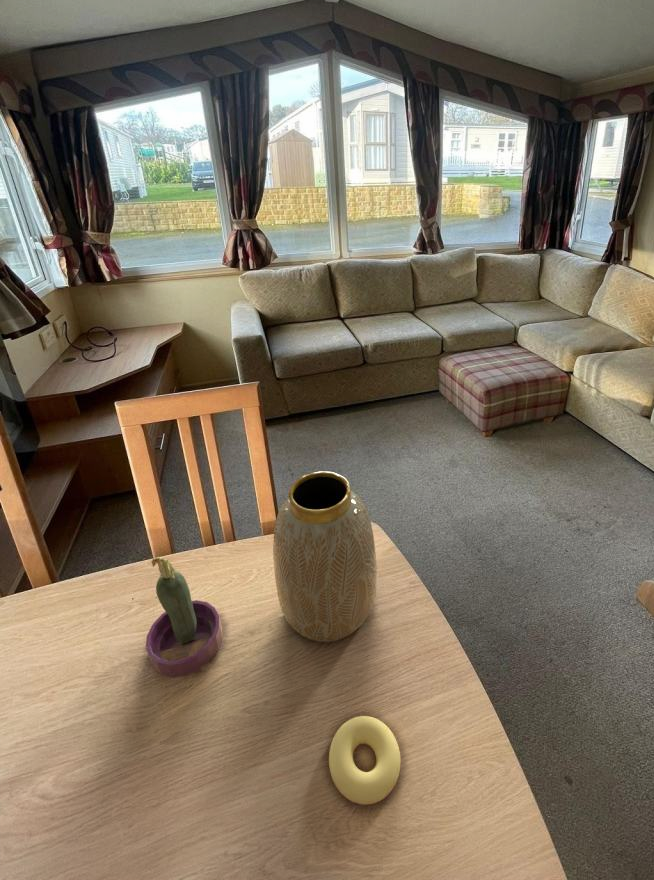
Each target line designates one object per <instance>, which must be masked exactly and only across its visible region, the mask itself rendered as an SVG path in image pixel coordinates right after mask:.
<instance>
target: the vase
mask: <svg viewBox="0 0 654 880" xmlns="http://www.w3.org/2000/svg"><path fill="white" fill-rule="evenodd" d="M272 544H273V545H272V548H273V549H272V553H273V555H272V556H273V570H274V579H275V580H274V581H275V586H276V591H277V598H278V603H279V607H280V609H281V613H282V615H283V617H284V618H285V620H286V622H287V623H288V625H289V626H290V627H291V628H292V629H293V630H294V631H295V632H296V633H298V634H299V635H300V636H302V637H304V638H306V639H309V640H311V641H314V642H321V643H323V642H324V643H326V642H327V643H329V642H335V641H338V640H342V639H344V638H346V637H349V636H350V635H352V634H353V633H354V632H356V631H357V630H358V629H359V628H360V627H361V626H362V625H363V623H364V622H365V621H366V620H367V618H368V617H369V615H370V613H371V612H372V609H373V607H374V603H375V600H376V596H377V577H378V576H377V574H378V573H377V570H378V569H377V567H378V566H377V554H376V546H375V545H376V544H375V537H374V531H373V526H372V522H371V518H370V515H369V512H368V510H367V508H366V505H365V503H364V502H363V501H362V499H361V498H360V497H359V496H358V494H357V493H355V492H354V491H353V490H352V489H351V485H350V483H349V481H348V480H347V478H345V477H344V476H342V475H340V474H338V473H336V472H332V471H316V472H311V473H308V474H305V475H303V476H301V477H299V478H298V479H297V480H295V481H294V482H293V484H292V485H291V486H290V488H289V491H288V498H287V499H286V500H285V501H284V503H283V504H282V506H281V508H280V509H279V511H278V513H277V516H276V520H275V523H274V530H273V543H272Z"/></svg>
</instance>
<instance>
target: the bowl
mask: <svg viewBox="0 0 654 880" xmlns="http://www.w3.org/2000/svg"><path fill="white" fill-rule="evenodd" d="M192 603H193V609H194V613H195V616H196V621H197V625H196V632H195V636H194V638H193V639H192V640H190V641H189V642H187V643H185V644H183V645H181V643H180V642H178V641H177V640H176V638H175V636H174V631H173V628H172V622H171V620H170V617H169V615H168V614H167V612H166V611H164V612H163V613H161V614H160V615H159V616H158V618H156V620H155V621H154V622H153V623H152V624H151V627H150V628H149V631H148V632H147V635H146V641H145V649H146V653H147V656H148V659H149V661H150V663H151V666H152V669H153V670H154V671H155V672H157V673H158V674H159V675H161V676H163V677H168V678H180V677H187V676H188V675H190V674H193V673H195V672H197V671H199V670H200V669H202V668H203V667H205V666H206V665H207V664H208V663H209V662H210V661H212V659H213V658H214V656H215V655H216V654H217V652H218V651H219V649H220V646H221V643H222V640H223V634H224V630H223V626H222V625H223V624H222V622H221V618H220V614H219V613H218V610H217V609H216V607H215V606H213V605H212V604H210V603H209V602H207V601H202V600H197V599H195V600H192ZM205 639H209V640H208V641H207V642H206V643H205V645H204V646H202V647H201V649H199V650H198V651H197V652H195V653H194V654H191V655H189V656H187V657H185V658H182V659H176V660H167V659H166V658H164V657H163V656H162V653H163V652H165V651H169V650H172V649H176V648H179V647H182V646H185V645H188V644H193V643H195V642H199V641H202V640H205Z"/></svg>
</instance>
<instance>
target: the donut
mask: <svg viewBox="0 0 654 880" xmlns="http://www.w3.org/2000/svg"><path fill="white" fill-rule="evenodd" d="M359 745H367V746H369V747H370V749H372V750H373V752H374V755H375V757H376V762H375V766H374V767H373V768H372V770H370V771H363V770H361V769H359V768H358V767H357V765H356V763H355V761H354V752H355V749H356V748H357V747H358V746H359ZM328 766H329V772H330V776H331V779H332V781H333V783H334V785H335V787H336V788H337V790H338V791H339V793H340V794H341V795H342V796H343V797H344V798H346V799H347V800H348V801H350V802H352V803H354V804H358V805H363V806H369V805H373V804H376V803H379V802H381V801H383V800H384V799H385V798H386V797H387V796H389V795H390V794H391V792H392V791H393V790H394V788H395V786H396V784H397V782H398V779H399V776H400V771H401V752H400V748H399V744H398V741H397V739H396V737H395V735H394V733H393V732H392V730H391V729H390V728H389V727H388V726H387V725H386V724H385V723H384V722H383V721H381V720H380V719H378V718H375V717H373V716H368V715H360V716H354V717H352V718H350V719H349V720H347V721H346V722H344V723H343V724H342V725H341V726H340V727H339V728H338V730H337V731H336V732H335V734H334V735H333V738H332V741H331V743H330V748H329V753H328Z"/></svg>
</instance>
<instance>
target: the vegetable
mask: <svg viewBox="0 0 654 880" xmlns="http://www.w3.org/2000/svg"><path fill="white" fill-rule="evenodd" d="M150 562H151V564H152V568H154V567H155V566H156V565H157V566H158V571H159V574H160V575H159V577H158V579H157V582H156V585H155V593H156V596H157V599H158V601H159V603H160V605H161V607H162V608H163V609H164V612H167V614H168V615H169V617H170V620H171V622H172V628H173V631H174V636H175V638H176V640H177V641H178V642H180V643H181V645H182V646H184V645H183V644H185V643H187V642H189V641H190V640H192V639H193V638H194V636H195V632H196V625H197V621H196V616H195V613H194V609H193V603H192V601H193V600H192V596H191V591H190V588H189V584H188V582H187V580H186V578H185V576H184V575H183V574H182V573H181V571H180V572H179V571H177V570H175V568H174V566H173V565H172V562H171V561H170V559H167V558H164V557H161V556H157V557H154V558H153V559H152V560H151V561H150Z"/></svg>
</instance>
